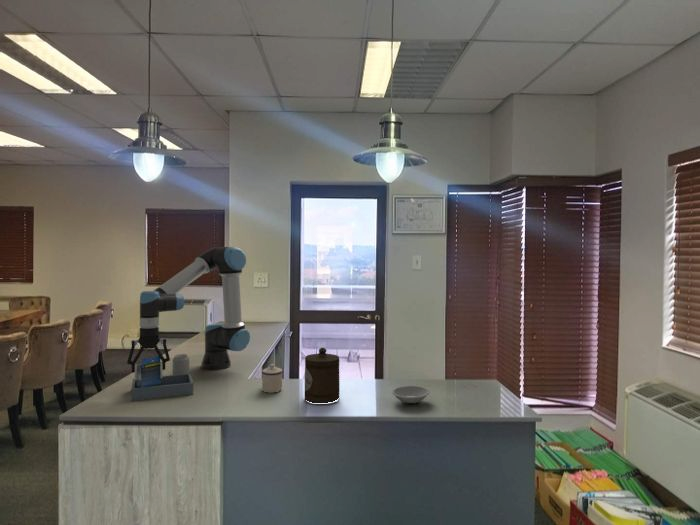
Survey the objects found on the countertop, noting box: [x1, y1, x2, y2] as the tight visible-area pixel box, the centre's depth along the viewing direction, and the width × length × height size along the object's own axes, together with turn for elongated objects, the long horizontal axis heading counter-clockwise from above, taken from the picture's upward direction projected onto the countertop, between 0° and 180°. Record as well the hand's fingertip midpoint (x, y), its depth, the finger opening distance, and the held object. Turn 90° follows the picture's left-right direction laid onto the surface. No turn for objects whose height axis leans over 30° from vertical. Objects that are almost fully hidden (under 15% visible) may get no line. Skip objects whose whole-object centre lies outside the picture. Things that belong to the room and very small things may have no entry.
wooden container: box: [304, 347, 340, 403], centre depth 185 cm, size 15×15×22 cm
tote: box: [130, 373, 194, 402], centre depth 190 cm, size 24×16×5 cm, turn 115°
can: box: [172, 353, 190, 375], centre depth 209 cm, size 8×8×12 cm
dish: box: [391, 385, 431, 404], centre depth 182 cm, size 18×14×5 cm
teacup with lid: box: [261, 363, 283, 393], centre depth 197 cm, size 12×9×12 cm
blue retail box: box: [137, 355, 161, 388], centre depth 188 cm, size 9×4×12 cm, turn 145°
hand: (148, 378), depth 188 cm, fingers closed on blue retail box, 9 cm apart
